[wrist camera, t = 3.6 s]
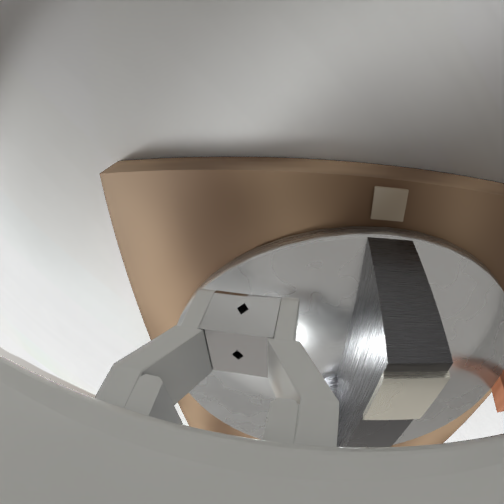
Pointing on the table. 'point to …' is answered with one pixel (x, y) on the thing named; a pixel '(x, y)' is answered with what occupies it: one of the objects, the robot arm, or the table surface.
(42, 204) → the table surface
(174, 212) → the dial plate
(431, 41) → the table surface
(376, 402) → the dial
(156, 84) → the table surface
